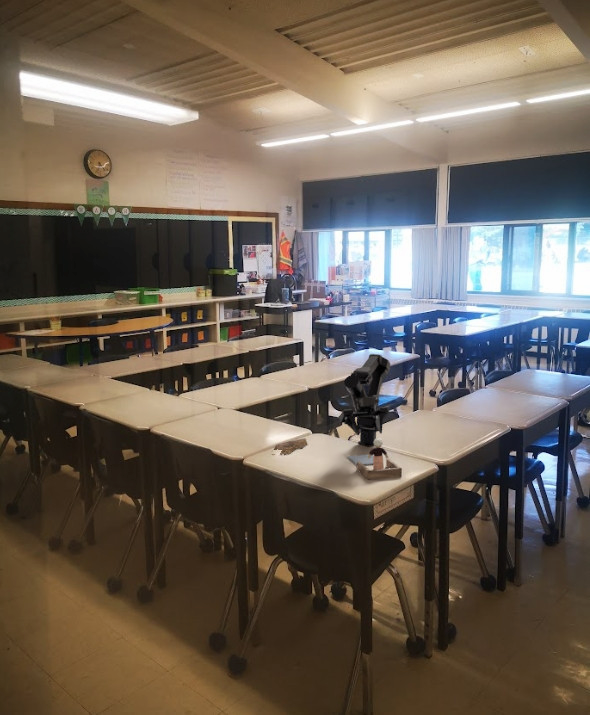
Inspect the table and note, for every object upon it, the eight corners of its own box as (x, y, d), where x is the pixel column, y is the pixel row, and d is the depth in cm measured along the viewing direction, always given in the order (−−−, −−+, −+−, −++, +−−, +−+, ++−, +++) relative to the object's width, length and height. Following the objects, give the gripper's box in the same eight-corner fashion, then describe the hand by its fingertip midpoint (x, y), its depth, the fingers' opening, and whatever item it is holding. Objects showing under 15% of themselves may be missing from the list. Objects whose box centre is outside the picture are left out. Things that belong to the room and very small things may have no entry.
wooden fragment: (283, 458, 237) (283, 455, 237) (261, 453, 243) (261, 450, 243) (318, 442, 258) (318, 439, 258) (297, 437, 264) (297, 435, 264)
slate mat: (347, 457, 237) (347, 456, 237) (371, 455, 240) (371, 454, 240) (357, 466, 228) (357, 464, 227) (381, 463, 230) (381, 462, 230)
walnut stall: (356, 469, 224) (356, 461, 224) (388, 466, 228) (388, 458, 227) (368, 479, 214) (368, 471, 213) (401, 476, 217) (401, 468, 217)
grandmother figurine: (384, 468, 225) (385, 436, 223) (388, 471, 222) (389, 439, 220) (365, 470, 223) (366, 437, 221) (370, 474, 219) (370, 440, 217)
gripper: (342, 389, 227) (352, 425, 218) (388, 386, 232) (399, 421, 223) (335, 404, 236) (344, 439, 227) (379, 401, 241) (389, 436, 232)
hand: (369, 434), depth 227 cm, fingers open, 9 cm apart
